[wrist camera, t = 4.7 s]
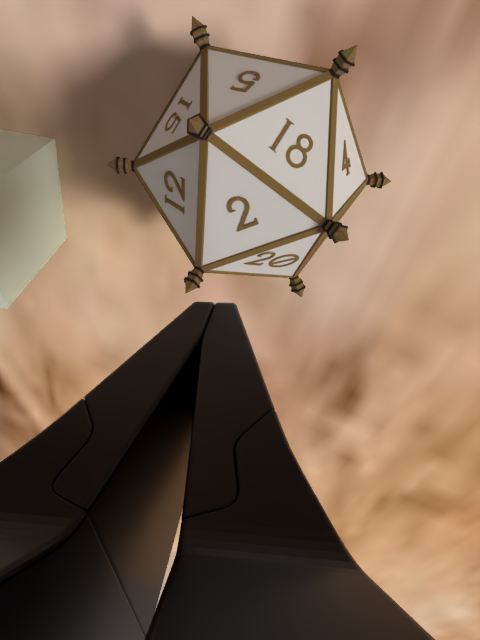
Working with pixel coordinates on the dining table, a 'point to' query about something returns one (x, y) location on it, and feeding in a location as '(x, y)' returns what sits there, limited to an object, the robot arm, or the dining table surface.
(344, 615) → the robot arm
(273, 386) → the dining table surface
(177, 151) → the game die
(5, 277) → the sage block
